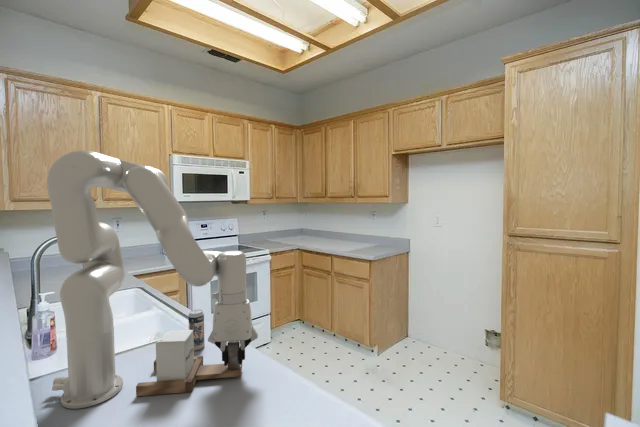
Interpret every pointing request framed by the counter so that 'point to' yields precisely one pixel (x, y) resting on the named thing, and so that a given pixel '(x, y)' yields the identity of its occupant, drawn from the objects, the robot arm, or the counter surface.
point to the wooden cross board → (195, 374)
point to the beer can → (197, 328)
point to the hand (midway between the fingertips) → (233, 362)
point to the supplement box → (174, 355)
